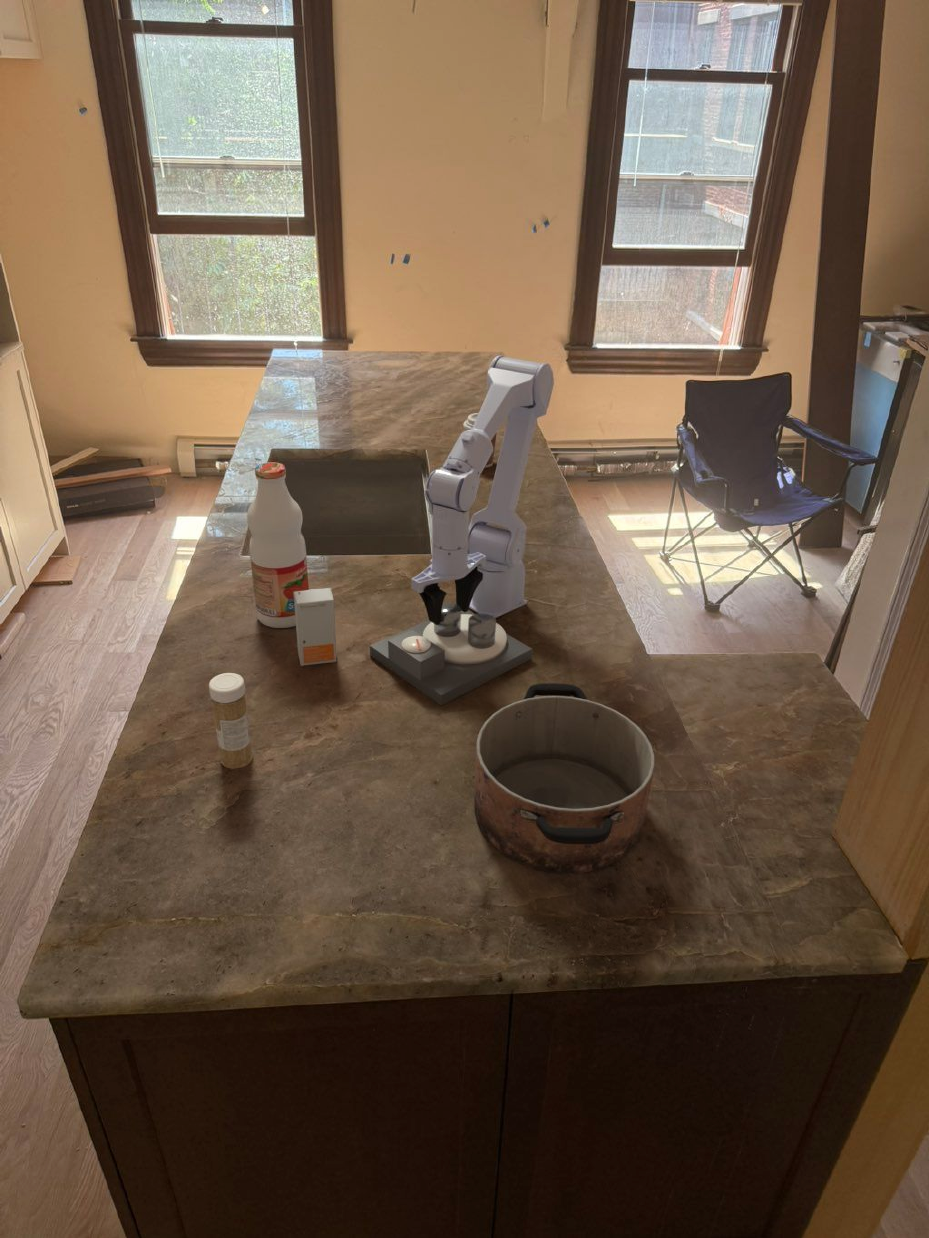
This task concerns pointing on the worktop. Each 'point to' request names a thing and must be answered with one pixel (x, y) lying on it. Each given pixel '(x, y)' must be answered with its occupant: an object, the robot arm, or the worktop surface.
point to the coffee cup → (468, 426)
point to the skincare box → (315, 626)
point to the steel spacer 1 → (449, 621)
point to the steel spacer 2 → (481, 631)
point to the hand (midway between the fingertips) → (448, 615)
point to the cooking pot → (562, 781)
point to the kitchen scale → (448, 659)
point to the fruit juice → (276, 548)
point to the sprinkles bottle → (231, 720)
